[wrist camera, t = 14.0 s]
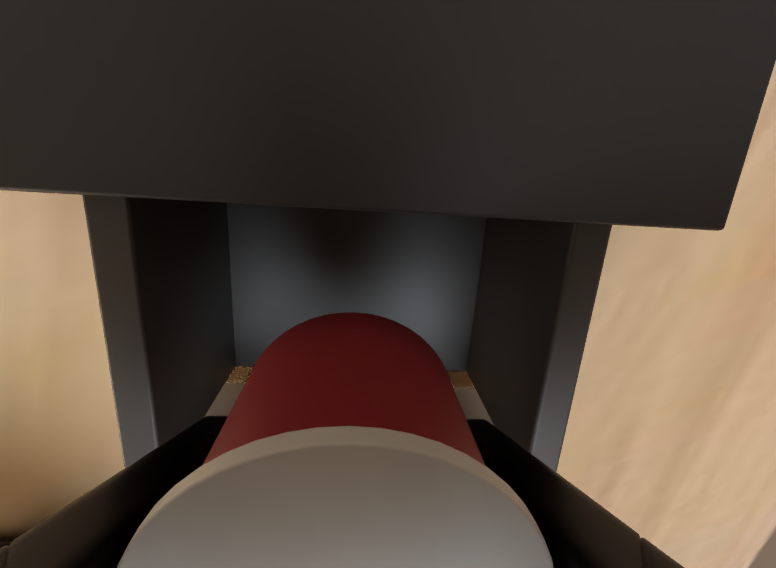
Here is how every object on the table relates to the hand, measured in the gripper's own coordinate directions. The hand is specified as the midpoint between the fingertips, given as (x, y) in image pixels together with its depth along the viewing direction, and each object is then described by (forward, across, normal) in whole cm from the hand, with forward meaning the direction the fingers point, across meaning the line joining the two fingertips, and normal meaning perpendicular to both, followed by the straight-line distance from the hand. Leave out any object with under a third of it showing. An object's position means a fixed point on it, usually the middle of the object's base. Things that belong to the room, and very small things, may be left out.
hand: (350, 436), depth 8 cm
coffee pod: (+1, 0, 0) cm, 1 cm away
